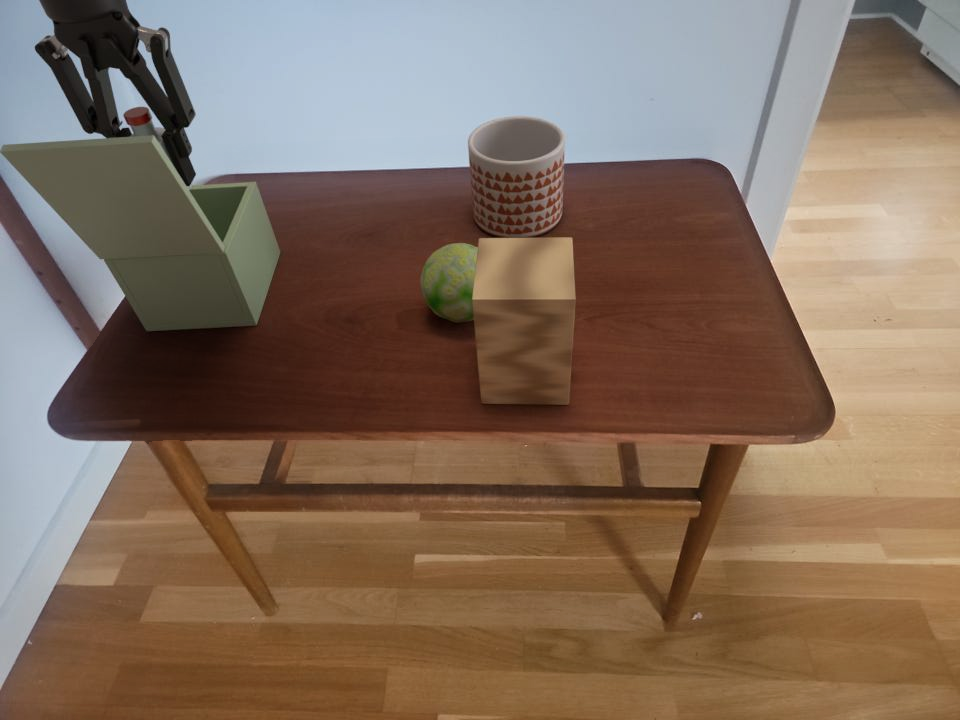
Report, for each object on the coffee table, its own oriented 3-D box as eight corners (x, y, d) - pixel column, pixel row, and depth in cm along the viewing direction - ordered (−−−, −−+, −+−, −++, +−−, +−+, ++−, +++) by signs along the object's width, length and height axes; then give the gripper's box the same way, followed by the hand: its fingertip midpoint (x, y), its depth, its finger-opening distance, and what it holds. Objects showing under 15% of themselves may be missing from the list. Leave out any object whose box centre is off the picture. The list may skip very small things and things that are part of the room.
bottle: (159, 205, 78) (121, 126, 70) (146, 189, 80) (108, 112, 73) (197, 189, 80) (164, 111, 72) (183, 175, 82) (149, 98, 75)
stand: (481, 403, 74) (471, 299, 63) (486, 342, 81) (478, 237, 70) (568, 405, 73) (575, 299, 62) (566, 342, 80) (572, 236, 69)
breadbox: (182, 257, 97) (148, 188, 89) (280, 252, 97) (255, 181, 88) (146, 331, 86) (103, 260, 78) (256, 325, 86) (225, 253, 77)
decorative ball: (416, 333, 83) (405, 272, 76) (437, 284, 90) (429, 223, 82) (491, 343, 81) (487, 281, 74) (507, 291, 88) (505, 230, 80)
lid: (2, 144, 63) (-1, 151, 62) (154, 134, 62) (152, 142, 62) (102, 252, 77) (99, 259, 77) (224, 246, 77) (223, 252, 76)
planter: (579, 223, 97) (584, 145, 88) (498, 251, 94) (495, 173, 85) (534, 181, 106) (534, 106, 97) (459, 206, 102) (451, 130, 93)
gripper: (171, -51, 64) (246, 161, 81) (-2, -38, 65) (108, 170, 82) (146, -27, 59) (232, 194, 76) (-43, -13, 60) (84, 203, 77)
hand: (167, 181), depth 79 cm, fingers closed on bottle, 5 cm apart
